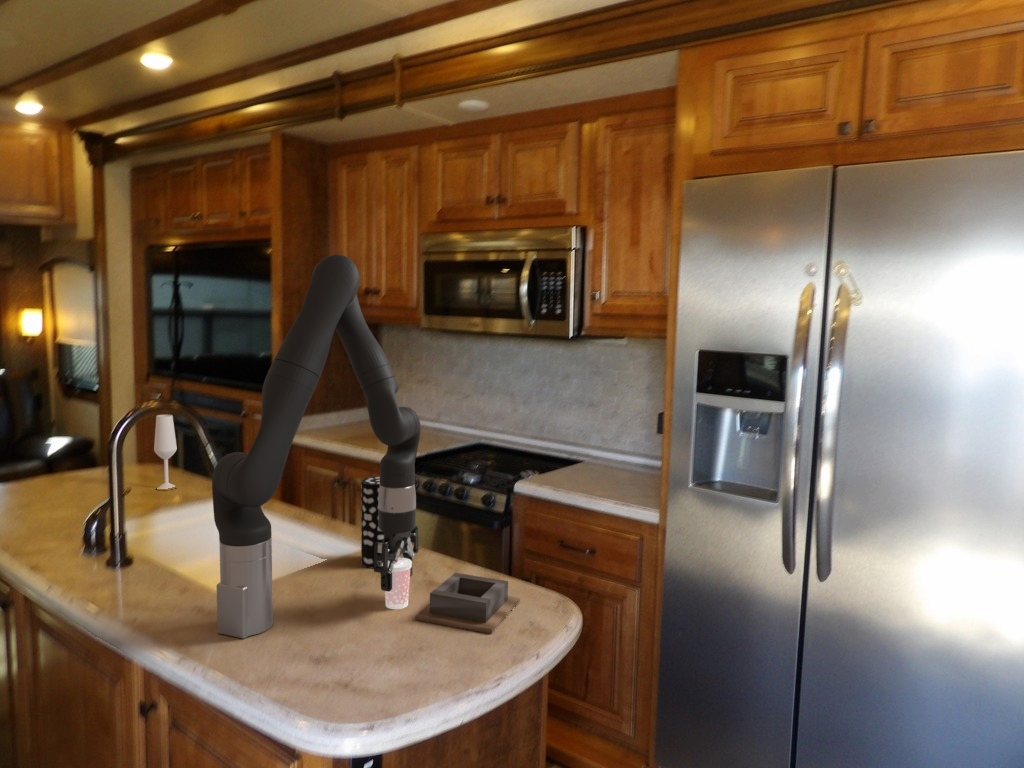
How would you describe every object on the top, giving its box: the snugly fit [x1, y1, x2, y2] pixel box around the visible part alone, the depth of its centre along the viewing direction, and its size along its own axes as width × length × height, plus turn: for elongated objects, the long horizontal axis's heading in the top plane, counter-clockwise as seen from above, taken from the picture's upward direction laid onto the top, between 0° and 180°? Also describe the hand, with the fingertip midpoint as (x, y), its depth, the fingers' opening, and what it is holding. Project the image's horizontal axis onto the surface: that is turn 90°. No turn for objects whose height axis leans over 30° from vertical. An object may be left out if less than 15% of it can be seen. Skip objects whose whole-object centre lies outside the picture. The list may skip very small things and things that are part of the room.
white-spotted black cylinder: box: [360, 475, 393, 569], centre depth 173 cm, size 8×8×20 cm
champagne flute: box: [153, 414, 178, 489], centre depth 236 cm, size 7×7×24 cm
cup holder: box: [415, 572, 521, 635], centre depth 147 cm, size 16×16×5 cm
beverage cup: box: [384, 556, 413, 610], centre depth 149 cm, size 6×6×14 cm
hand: (397, 583), depth 149 cm, fingers open, 8 cm apart
